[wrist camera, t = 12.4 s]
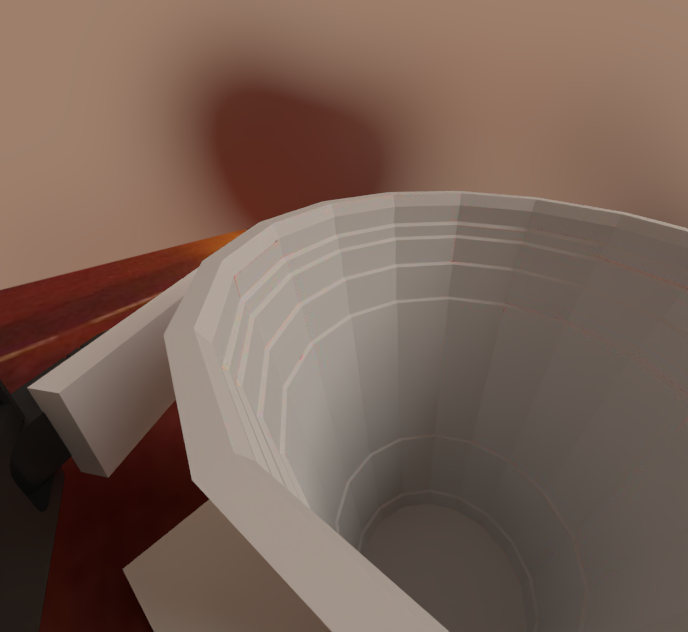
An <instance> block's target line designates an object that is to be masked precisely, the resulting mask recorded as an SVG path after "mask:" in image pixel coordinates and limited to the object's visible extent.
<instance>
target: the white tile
mask: <svg viewBox="0 0 688 632" xmlns="http://www.w3.org/2000/svg"><path fill="white" fill-rule="evenodd" d="M123 571H124V573H125V575H126V577H127V579H128V581H129V583H130V585H131V587H132V589H133V591H134V593H135V595H136V597H137V599H138V601H139V603H140V605H141V607H142V609H143V611H144V613H145V615H146V617H147V619H148V621H149V623H150V625H151V627H152V629H153V631H154V632H332V631H331V630H330V629H329V628H328V627H327V626H326V625H325V624H324V623H323V621H322V620H321V619H320V618H319V617H318V616H317V615H316V614H315V613H314V612H313V611H312V610H311V608H310V607H309V606H308V605H307V604H306V603H305V602H304V601H303V600H302V599H301V598H300V597H299V595H298V594H297V593H296V592H295V591H294V590H293V589H292V588H291V587H290V586H289V585H288V584H287V583H286V581H285V580H284V579H283V578H282V577H281V576H280V575H279V574H278V573H277V572H276V571H275V570H274V568H273V567H272V566H271V565H270V564H269V563H268V562H267V561H266V560H265V559H264V558H263V557H262V555H261V554H260V553H259V552H258V551H257V550H256V549H255V548H254V547H253V546H252V545H251V544H250V542H249V541H248V540H247V539H246V538H245V537H244V536H243V535H242V534H241V533H240V532H239V531H238V529H237V528H236V527H235V526H234V525H233V524H232V523H231V522H230V521H229V520H228V519H227V518H226V516H225V515H224V514H223V513H222V512H221V511H220V510H219V509H218V508H217V507H216V506H215V505H214V504H213V502H212V501H211V500H210V499H209V500H208V501H207V502H205V503H204V504H203V505H202V506H200V507H199V508H198V509H197V510H196V511H194V512H193V513H192V514H191V515H189V516H188V517H187V518H186V519H184V520H183V521H182V522H181V523H179V524H178V525H177V526H176V527H174V528H173V529H172V530H171V531H169V532H168V533H167V534H166V535H164V536H163V537H162V538H161V539H159V540H158V541H157V542H156V543H154V544H153V545H152V546H151V547H149V548H148V549H147V550H146V551H144V552H143V553H142V554H141V555H139V556H138V557H137V558H136V559H134V560H133V561H132V562H131V563H130V564H128V565H127V566H126V567H125V568H123Z"/></svg>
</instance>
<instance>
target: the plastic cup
mask: <svg viewBox="0 0 688 632" xmlns="http://www.w3.org/2000/svg"><path fill="white" fill-rule="evenodd" d="M164 340H165V345H166V350H167V356H168V361H169V366H170V371H171V376H172V381H173V386H174V391H175V396H176V401H177V406H178V412H179V417H180V422H181V427H182V432H183V437H184V442H185V447H186V452H187V457H188V462H189V468H190V473H191V478H192V481H193V482H194V483H195V484H196V485H197V486H198V487H199V488H200V489H201V491H202V492H203V493H204V494H205V495H206V496H207V497H208V498H209V499H210V500H211V501H212V502H213V504H214V505H215V506H216V507H217V508H218V509H219V510H220V511H221V512H222V513H223V514H224V515H225V516H226V518H227V519H228V520H229V521H230V522H231V523H232V524H233V525H234V526H235V527H236V528H237V529H238V531H239V532H240V533H241V534H242V535H243V536H244V537H245V538H246V539H247V540H248V541H249V542H250V544H251V545H252V546H253V547H254V548H255V549H256V550H257V551H258V552H259V553H260V554H261V555H262V557H263V558H264V559H265V560H266V561H267V562H268V563H269V564H270V565H271V566H272V567H273V568H274V570H275V571H276V572H277V573H278V574H279V575H280V576H281V577H282V578H283V579H284V580H285V581H286V583H287V584H288V585H289V586H290V587H291V588H292V589H293V590H294V591H295V592H296V593H297V594H298V595H299V597H300V598H301V599H302V600H303V601H304V602H305V603H306V604H307V605H308V606H309V607H310V608H311V610H312V611H313V612H314V613H315V614H316V615H317V616H318V617H319V618H320V619H321V620H322V621H323V623H324V624H325V625H326V626H327V627H328V628H329V629H330V630H331V631H332V632H688V228H684V227H680V226H676V225H672V224H669V223H664V222H661V221H657V220H653V219H649V218H645V217H641V216H637V215H634V214H630V213H626V212H620V211H614V210H608V209H602V208H596V207H590V206H584V205H578V204H572V203H566V202H560V201H554V200H548V199H543V198H537V197H526V196H514V195H501V194H489V193H488V194H487V193H476V192H463V191H433V192H388V193H380V194H373V195H366V196H359V197H352V198H344V199H337V200H331V201H323V202H320V203H317V204H314V205H311V206H308V207H305V208H301V209H299V210H295V211H292V212H289V213H286V214H283V215H280V216H277V217H274V218H271V219H268V220H265V221H262V222H259V223H258V224H256V225H255V226H253V227H252V228H250V229H249V230H247V231H246V232H244V233H243V234H241V235H240V236H239V237H237V238H236V239H234V240H233V241H231V242H230V243H228V244H227V245H225V246H224V247H222V248H221V249H219V250H218V251H216V252H215V253H213V254H212V255H211V256H209V257H208V258H206V259H205V260H203V261H202V263H201V265H200V266H199V268H198V270H197V272H196V274H195V276H194V278H193V280H192V282H191V284H190V285H189V287H188V289H187V291H186V293H185V295H184V297H183V299H182V301H181V303H180V304H179V306H178V308H177V310H176V312H175V314H174V316H173V318H172V320H171V322H170V323H169V325H168V327H167V329H166V331H165V333H164Z"/></svg>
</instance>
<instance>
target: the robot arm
mask: <svg viewBox="0 0 688 632" xmlns="http://www.w3.org/2000/svg"><path fill="white" fill-rule="evenodd" d="M198 268H199V267H198ZM198 268H197V269H195V270H194V271H193V272H191V273H190V274H188V275H187V276H185V277H184V278H183V279H181V280H180V281H178V282H177V283H175V284H174V285H173V286H171V287H170V288H168V289H167V290H165V291H164V292H163V293H161V294H160V295H158V296H157V297H156V298H154V299H153V300H151V301H150V302H148V303H147V304H146V305H144V306H143V307H141V308H140V309H138V310H137V311H136V312H134V313H133V314H131V315H130V316H128V317H127V318H126V319H124V320H123V321H121V322H120V323H118V324H117V325H116V326H114V327H113V328H111V329H109V330H107V331H104V332H102V333H100V334H98V335H96V336H94V337H93V338H91V339H90V340H89V341H87V342H86V343H84V344H83V345H81V346H80V349H78V348H77V349H76V350H74V351H73V352H71V353H70V354H68V355H67V358H62V359H61V360H60V361H58V362H57V363H55V364H54V365H52V366H51V367H49V368H48V369H47V370H45V371H44V372H42V373H41V374H39V375H38V376H36V377H35V378H33V379H32V380H31V381H29V382H28V383H26V384H25V385H23V386H22V387H20V388H19V389H18V390H16V391H15V392H13V393H12V394H10V393H9V392H8V390H7V389H6V387H5V386H4V384H3V383H2V381H1V380H0V632H39V627H40V621H41V615H42V610H43V604H44V598H45V592H46V586H47V580H48V574H49V568H50V562H51V556H52V550H53V544H54V538H55V533H56V527H57V521H58V515H59V509H60V503H61V497H62V491H63V485H64V479H65V478H64V471H63V470H62V468H61V466H62V465H63V464H64V463H65V462H66V461H67V460H68V459H69V458H70V457H72V458H73V460H74V461H75V463H76V464H77V466H78V468H79V469H80V471H81V472H84V473H89V474H93V475H98V476H103V477H107V478H109V477H110V475H111V474H112V473H113V472H114V471H115V470H116V468H117V467H118V466H119V465H120V464H121V463H122V461H123V460H124V459H125V458H126V457H127V456H128V454H129V453H130V452H131V451H132V450H133V449H134V447H135V446H136V445H137V444H138V443H139V442H140V440H141V439H142V438H143V437H144V436H145V435H146V433H147V432H148V431H149V430H150V429H151V428H152V426H153V425H154V424H155V423H156V422H157V421H158V419H159V418H160V417H161V416H162V415H163V414H164V412H165V411H166V410H167V409H168V408H169V406H170V405H171V404H172V403H173V402H174V401H175V399H176V396H175V391H174V386H173V381H172V376H171V371H170V366H169V361H168V356H167V350H166V345H165V340H164V333H165V331H166V329H167V327H168V325H169V323H170V322H171V320H172V318H173V316H174V314H175V312H176V310H177V308H178V306H179V304H180V303H181V301H182V299H183V297H184V295H185V293H186V291H187V289H188V287H189V285H190V284H191V282H192V280H193V278H194V276H195V274H196V272H197V270H198Z"/></svg>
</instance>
